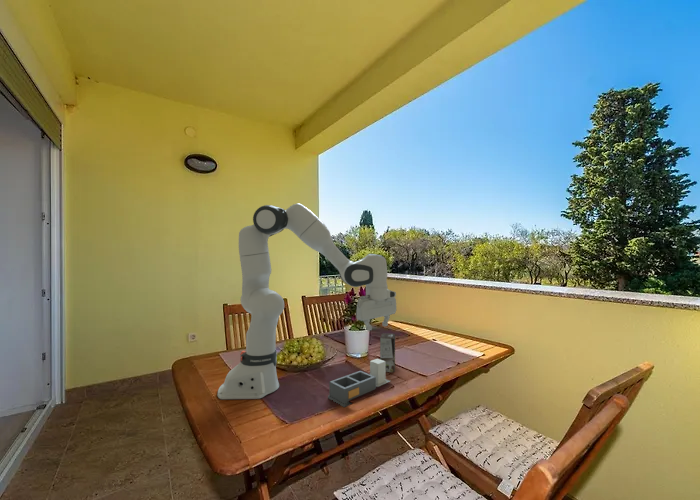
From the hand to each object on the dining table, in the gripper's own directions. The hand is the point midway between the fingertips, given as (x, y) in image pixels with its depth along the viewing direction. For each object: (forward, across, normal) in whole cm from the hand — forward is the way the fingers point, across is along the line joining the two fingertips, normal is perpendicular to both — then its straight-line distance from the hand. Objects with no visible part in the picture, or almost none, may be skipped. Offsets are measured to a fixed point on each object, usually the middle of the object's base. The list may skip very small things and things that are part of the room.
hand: (377, 328), depth 121 cm
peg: (+21, 0, 0) cm, 21 cm away
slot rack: (+23, -9, 0) cm, 24 cm away
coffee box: (+23, +14, +7) cm, 28 cm away
